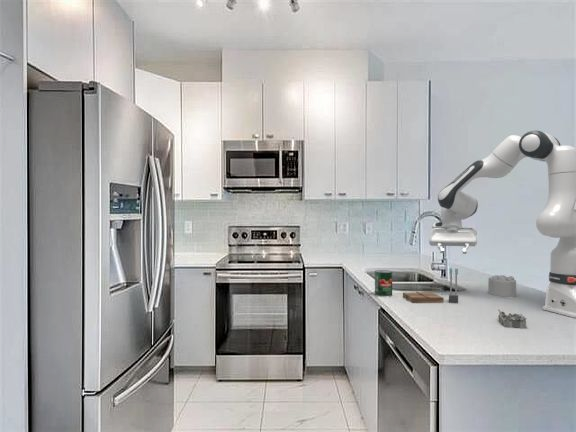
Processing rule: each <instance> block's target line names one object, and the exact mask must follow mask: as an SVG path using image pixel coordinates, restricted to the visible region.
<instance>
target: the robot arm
mask: <svg viewBox="0 0 576 432" xmlns="http://www.w3.org/2000/svg"><path fill="white" fill-rule="evenodd" d="M524 158H530V159H532V160H535V161H539V162H545V163H546V164H547V169H548V170H547V173H548V175H547V176H548V197H547V201H546V205H545V206H544V209H543V211H541V213H540V214H538V216H537V218H536V222H535V225H536V228H537V231H538V232H539V233H540V234H541V235H543V236H544V237H545V236H546V237H548V238H556V239H558V238H559V239H558V242H557V245H556V246H555V247H554V249H552V251H551V253H550V271H549V273H548V282H549V284H548V286H547V288H546V292H545V293H546V294H545V302H544V303H545V304H544V305H543V306H542V310H543V311H547V312H551V313H555V314H559V315H562V316H567V317H570V318H575V319H576V209H575V205H576V147H574V146H572V145H561V142H560V141H559V140H558V138H556V137H554V136H553V135H551V134H550V133H548V132H545V131H541V130H531V131H527V132H526V133H524V134H523V135H522V136H519V135H517V134H511V135H508V136H507V137H506V138H505V139H504V140H502V141H501V142H500V143H499V144H498V145H497V146H496V147H495V148H494V149H493V150H492V152H491V153H490V154H489V155H488V156H486V157H484V158H483V159H480V160H475V161H474V162H473V163H472V164H471V165H469V166H468V167H467V168H465V170H463V171H462V172H461V173H460V174H459V175H458V176H456V177H455V179H454V180H453V181H451V182H450V183H449V184H448V185H446V186H444V187H443V188H442V189H441V190H440V191H439V192H438V194H437V202H438V205H439V206H440V207H441V209H440V215H441V221H437V222H435V223H432V226H431V230H430V232H429V240H428V241H429V243H428V244H429V245H430V246H432V247H437V249H438V250H439V252H440V253H439V254H444V253H445V248H444V247H464V248H462V255H463V254H464V255H465V254H467V253H468V252H467V251H468V249H469V247H476V245H477V244H478V238H477V234H478V233H477V230H476V229H475V228H472V227H463V224H462V223H463V222H462V220H466V219H468V218H470V217H472V216H473V215H475V214H476V213H477V211H478V207H479V205H478V200H477V199H476V198H475V197H473V196H471V195H470V194H467V193H465V192H463V191H462V190H463V189H464V188H465V187H466V186H467V185H469V184H470V183H471V182H472V181H473V180H475V179H479V178H488V179H489V178H490V179H501V178H504V177H506V176H507V175H508V174H510V173H511V171H513V169H514V168H515V167H516V166H517V165H518V164H519V162H520V161H521V160H522V159H524Z"/></svg>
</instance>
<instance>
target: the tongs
mask: <svg viewBox="0 0 576 432" xmlns="http://www.w3.org/2000/svg"><path fill="white" fill-rule="evenodd" d="M454 274H455V278H454V279H455V281H454V285H455V286H454V287H455V288H454V290H455V292H454V294H453V293H452V292H453V291H452V290H453V268H452V267H451V268H449V277H450V278H449V280H450V281H449V286H450V287H449V291H450V292H449V294H448V303H449V304H459V294H458V274H459V269H458V268H455V269H454Z"/></svg>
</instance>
